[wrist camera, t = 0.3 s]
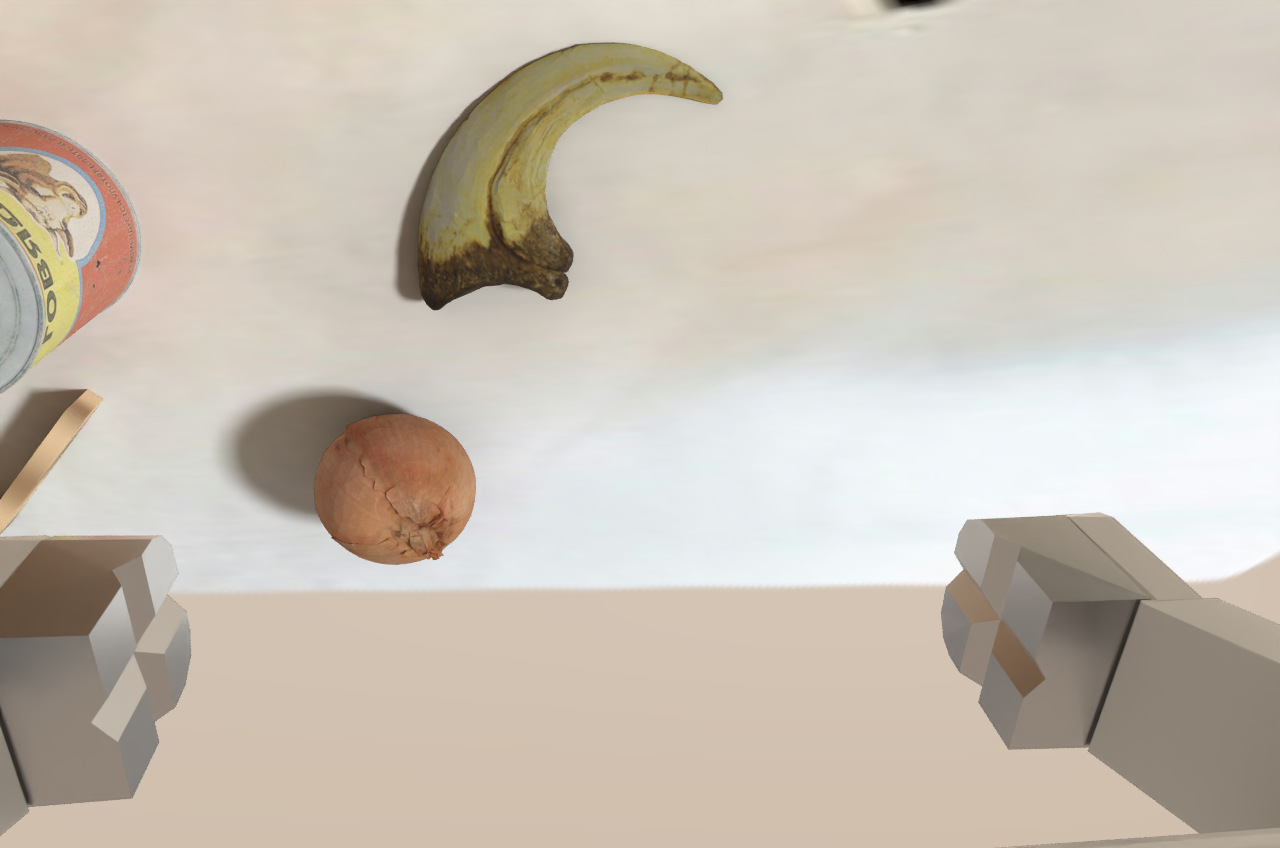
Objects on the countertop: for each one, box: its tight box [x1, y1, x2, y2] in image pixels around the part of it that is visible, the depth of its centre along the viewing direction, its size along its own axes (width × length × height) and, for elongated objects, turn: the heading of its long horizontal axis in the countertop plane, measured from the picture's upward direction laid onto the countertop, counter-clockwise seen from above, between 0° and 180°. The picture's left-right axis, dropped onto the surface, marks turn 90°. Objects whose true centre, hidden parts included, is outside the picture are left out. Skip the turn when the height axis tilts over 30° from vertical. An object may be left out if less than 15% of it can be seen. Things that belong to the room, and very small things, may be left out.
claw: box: [418, 43, 723, 310], centre depth 52 cm, size 20×10×3 cm, turn 140°
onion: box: [314, 413, 476, 565], centre depth 56 cm, size 10×9×10 cm
